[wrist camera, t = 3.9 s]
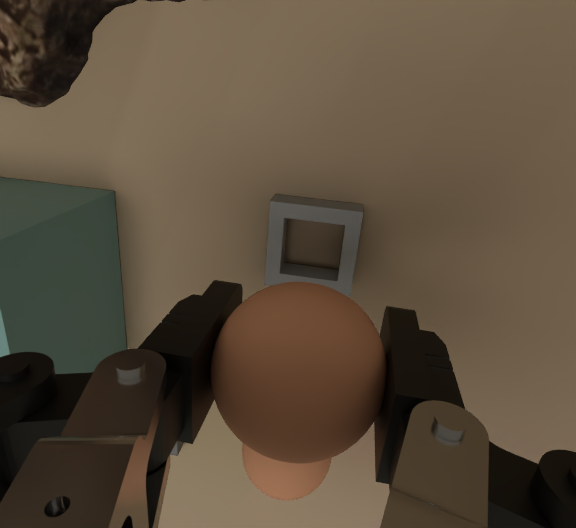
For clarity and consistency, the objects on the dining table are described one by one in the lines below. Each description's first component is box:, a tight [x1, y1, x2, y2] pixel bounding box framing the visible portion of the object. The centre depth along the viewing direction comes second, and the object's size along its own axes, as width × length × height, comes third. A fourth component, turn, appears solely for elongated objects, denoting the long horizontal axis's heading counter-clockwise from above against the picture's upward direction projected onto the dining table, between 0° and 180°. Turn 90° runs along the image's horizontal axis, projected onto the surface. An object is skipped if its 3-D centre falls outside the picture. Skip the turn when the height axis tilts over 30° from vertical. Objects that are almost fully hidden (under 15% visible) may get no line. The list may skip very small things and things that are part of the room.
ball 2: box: [242, 443, 331, 500], centre depth 19 cm, size 4×4×4 cm
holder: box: [264, 194, 363, 296], centre depth 17 cm, size 4×4×1 cm
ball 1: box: [211, 282, 387, 464], centre depth 10 cm, size 4×4×4 cm
